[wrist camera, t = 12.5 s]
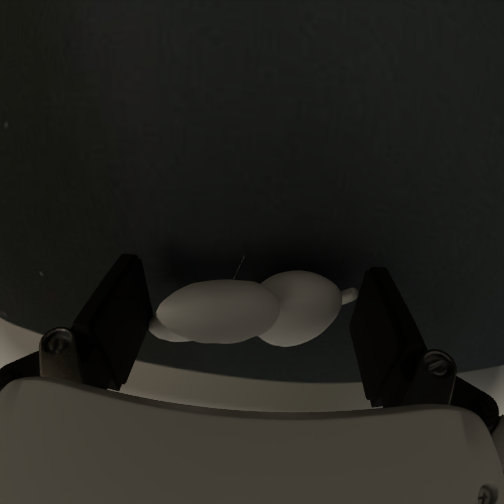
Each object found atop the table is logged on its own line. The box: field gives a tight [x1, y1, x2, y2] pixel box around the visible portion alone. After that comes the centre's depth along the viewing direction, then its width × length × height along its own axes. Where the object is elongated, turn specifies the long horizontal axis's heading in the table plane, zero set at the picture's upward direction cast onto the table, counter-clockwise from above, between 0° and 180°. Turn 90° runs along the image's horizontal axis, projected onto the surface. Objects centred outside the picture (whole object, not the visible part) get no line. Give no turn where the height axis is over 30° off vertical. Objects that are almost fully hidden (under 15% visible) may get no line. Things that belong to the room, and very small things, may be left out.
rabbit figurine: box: [149, 256, 359, 347], centre depth 11 cm, size 6×4×8 cm
